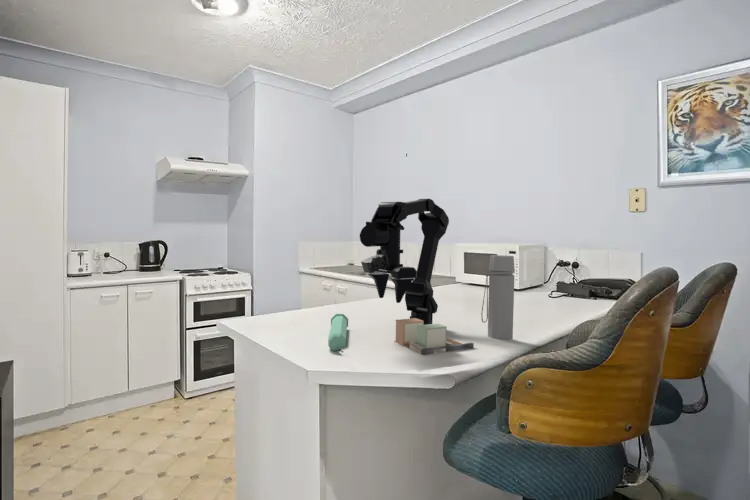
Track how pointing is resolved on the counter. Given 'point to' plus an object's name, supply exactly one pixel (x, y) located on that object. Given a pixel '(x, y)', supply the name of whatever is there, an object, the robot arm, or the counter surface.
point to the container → (338, 332)
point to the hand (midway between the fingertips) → (389, 300)
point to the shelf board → (450, 346)
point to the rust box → (407, 330)
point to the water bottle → (500, 297)
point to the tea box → (431, 335)
